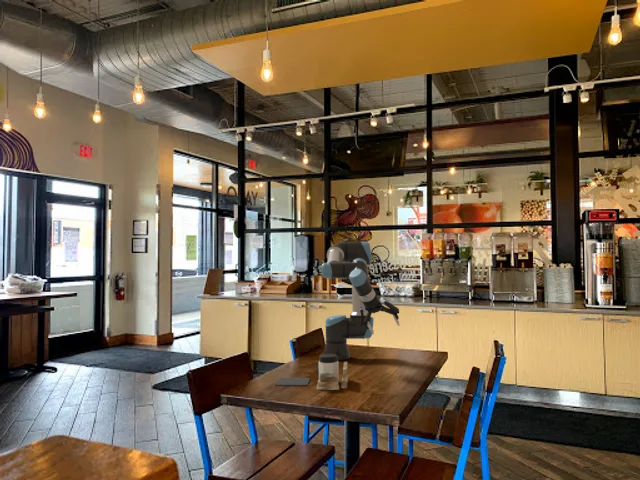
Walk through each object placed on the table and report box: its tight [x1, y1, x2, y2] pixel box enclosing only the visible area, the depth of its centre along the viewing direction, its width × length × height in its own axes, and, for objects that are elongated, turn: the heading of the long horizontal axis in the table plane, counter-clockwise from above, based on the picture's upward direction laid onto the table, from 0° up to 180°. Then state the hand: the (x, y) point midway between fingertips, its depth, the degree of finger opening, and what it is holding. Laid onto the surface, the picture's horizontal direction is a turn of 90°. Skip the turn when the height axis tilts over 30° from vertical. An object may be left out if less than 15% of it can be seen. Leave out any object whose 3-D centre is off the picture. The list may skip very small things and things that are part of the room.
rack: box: [315, 361, 349, 391], centre depth 208 cm, size 13×17×8 cm
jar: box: [318, 353, 340, 384], centre depth 212 cm, size 9×8×12 cm
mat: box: [275, 377, 311, 387], centre depth 213 cm, size 14×12×1 cm
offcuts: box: [317, 372, 339, 387], centre depth 201 cm, size 8×3×6 cm, turn 85°
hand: (385, 328), depth 235 cm, fingers open, 13 cm apart
